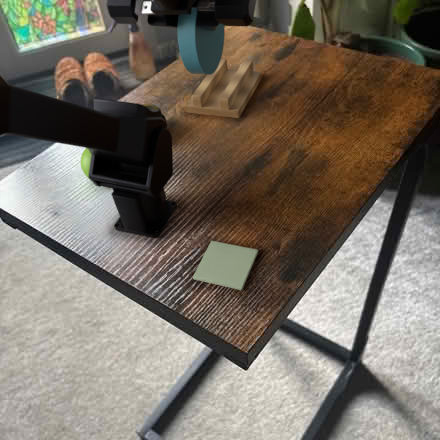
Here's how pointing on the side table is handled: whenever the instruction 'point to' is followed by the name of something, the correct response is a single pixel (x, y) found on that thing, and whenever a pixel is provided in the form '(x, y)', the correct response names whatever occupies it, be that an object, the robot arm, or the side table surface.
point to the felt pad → (226, 265)
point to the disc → (199, 45)
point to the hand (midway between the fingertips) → (206, 26)
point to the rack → (225, 91)
